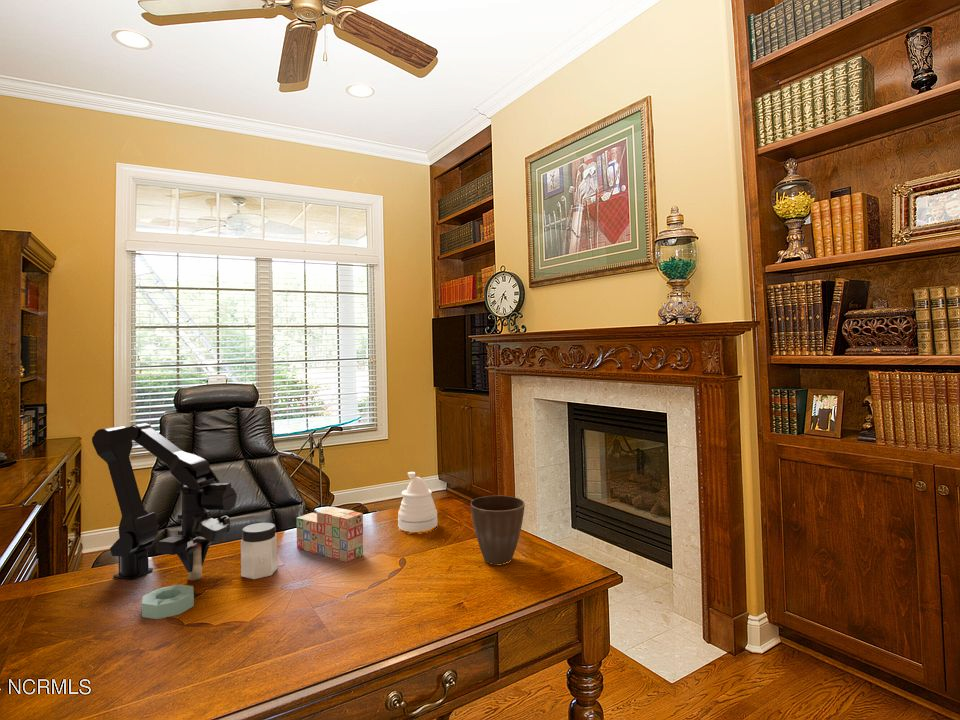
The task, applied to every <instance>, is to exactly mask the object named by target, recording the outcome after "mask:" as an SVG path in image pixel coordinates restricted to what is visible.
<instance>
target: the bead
mask: <svg viewBox="0 0 960 720" xmlns="http://www.w3.org/2000/svg"><path fill="white" fill-rule="evenodd" d="M194 592H195V591H194V585H186V584H174V585H168V586H164V587H160V588H157V589H155V590H153V591H150V592H148V593H146V594H144V595H143V596H142V600H141V617H142V618H147V619H152V620H160V619H164V618H169V617H173V616H178V615H181V614H182V613H184V612H186V611H188V610H189V609H191V608H193V607H194V606H195V604H194V603H195V602H194V601H195V600H194V599H195V595H194V594H195V593H194Z"/></svg>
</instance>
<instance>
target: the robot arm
mask: <svg viewBox="0 0 960 720" xmlns="http://www.w3.org/2000/svg"><path fill="white" fill-rule="evenodd" d="M133 441H134V442H135V443H137V444H138V445H139V446H141V447H142V448H144V449H145V450H146V451H148V452H149V453H150V454H152V455H153V456H155V458H157V459H158V460H159V461H161V462H162V463H164V464H165V465H166V466H167V467H168V468H169V471H170V474H171V475H172V477H174V479H176V481H177V482H179V483H178V485H177V486H176V487H175V488H174V489H173V490H172V491H173V492H174V493H180V500H181V501H180V503H181V504H180V505H181V506H180V507H181V509H180V510H181V513H179V514H177V519H178V520H181V529H179V530H177V535H178V536H181V537H178V536H177V537H176V536H168V537H165V538H163V539H161V540H159V541H158V542H157V543H156V544H155V554H161V555H169V556H174V555H176V556H177V557H178V558H179V560H180V561H181V562H182V565H183V566H184V568H185V570H186V572H188V573H189V572H192V569H193V552H194V551H195V549H196V548H197V546H193V544H194V543H201V558H202V567H203V566H204V563H205V560H206V556H207V554H208V550H209V548H210V546H211V545H212V543H214V542H216V541H218V540H219V539H223V538H224V537H225V533H228V532H230V529H231V527H230V526H231V519H230V517H229V516H228V515H223V516H220V517H219V518H218V517H217V518H213V517H212V513H211V511H227V512H228V511H231V510H233V508H234V507H235V505H236V502H237V499H238V497H237V493H236V490H235V488H233V487H232V483H231V482H224V483H221V482H220V480H219V478H218V477H217V476H216V474H215V472H214V471H213V470H212V468H211V467H210V466H211V464H210V463H209V461H208V460H207V459H205V458H203V457H202V456H199V455H197V454H195V453H190V452H186V451H184V450H182V449H181V448H179V447H178V446H177V445H175V444H174V443H172V442H171V441H170V440H169V439H167V438H166V437H164V436H163V435H162V434H160V433H159V432H157V431H156V430H155V429H153V427H152V425H151V424H149V423H138V424H137V423H136V424H132V425H130V426H127V427H126V426H123V425H119V426H118V425H117V426H111V427H107V428H105V427H104V428H100V429H97V430H96V431H95V432H94V434H93V436H91V442H92V446H93V447H94V450H95V452H96V454H97V455H98V457H100V458H101V459H102V460H103V461H104V462H105V463H106V464H107V468H108V471H109V475H110V478H111V481H112V482H111V483H112V485H113V489H114V492H115V496H116V499H117V503H118V506H119V510H120V513H121V518H120V522H119V526H118V536H119V537H118V539H117V540H116V541H115V542H114V543H113V544H112V546H110V548H109V551H110V553H111V556H112V557H118V573H115V574H113V575H112V577H113V578H114V579H115V578H117V579H124V580H135V579H137V578H140V577H141V576H143V575H146V574H148V573H150V572H152V571H153V570H154V568H153V567H152V568H151V567H149V555H148V548H149V547H152V546H153V545H154V543H155V540H156V538H157V536H158V534H159V528H160V524H159V522H158V520H157V514H156V513H155V512H151V513H149V511H147V510H146V509H145V507H144V504H143V501H142V497H141V495H140V490H139V487H138V484H137V480H136V477H135V472H134V469H133V466H132V463H131V459H130V456H131V452H132V449H133Z"/></svg>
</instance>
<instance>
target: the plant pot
mask: <svg viewBox="0 0 960 720" xmlns="http://www.w3.org/2000/svg"><path fill="white" fill-rule="evenodd" d="M525 506H526V503H525V500H523V499H521V498H519V497H514V496H509V495H486V496H480V497H476V498H474V499H472V500H471V502H470V509H471V516H472V517H471V518H472V522H473V527H474V532H475V536H476V539H477V543H478V546H479V549H480V553H481V555H482V557H483V560H484V562H485V561H486V562H488V563H492V564H503V563H506V562H509V561H510V560H511V561H513V560H512V559H513V557H514V555H515V552H516V550H517V549H516V548H517V546H518V543H519V539H520V535H521V530H522V527H523V526H522V525H523V520H524V514H525ZM486 562H485V563H486ZM488 563H487V564H488Z"/></svg>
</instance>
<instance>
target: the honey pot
mask: <svg viewBox="0 0 960 720" xmlns="http://www.w3.org/2000/svg"><path fill="white" fill-rule="evenodd" d="M407 476H408V478H409V479H411V480H410V482H409V483H408V486H407V488H406V489H404V490H402V492H401V496H402V500H401V502H400V506H399V509H398V512H397V515H398V516H397V528H398V527H399V529H401V530H404V531H409V532H420V531H426V530H430V529H432V528H434V527H436V526H437V527H438V510H437V508H436V504H435V503H434V502H435V501H434V499H433V497H432V493H433V492H432V491H433V490H431V489H429V487H428V485H427V483H426V482H425V480H424V479H423V478H421V477H420V476H416V472H415V471H409V472H407ZM399 529H398V530H399Z"/></svg>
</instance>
